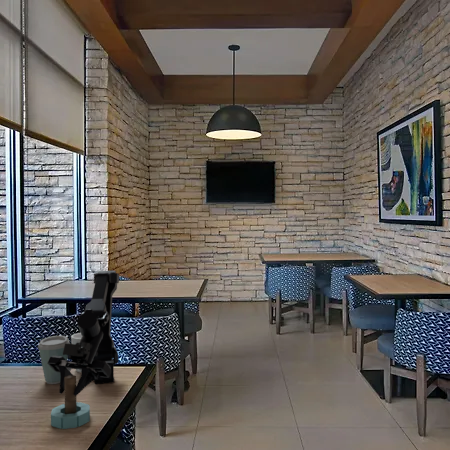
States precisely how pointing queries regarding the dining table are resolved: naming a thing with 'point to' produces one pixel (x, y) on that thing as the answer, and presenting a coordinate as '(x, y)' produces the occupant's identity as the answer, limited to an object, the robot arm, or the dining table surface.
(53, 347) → the disposable coffee cup
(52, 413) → the bead
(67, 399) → the brown post
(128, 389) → the dining table surface
